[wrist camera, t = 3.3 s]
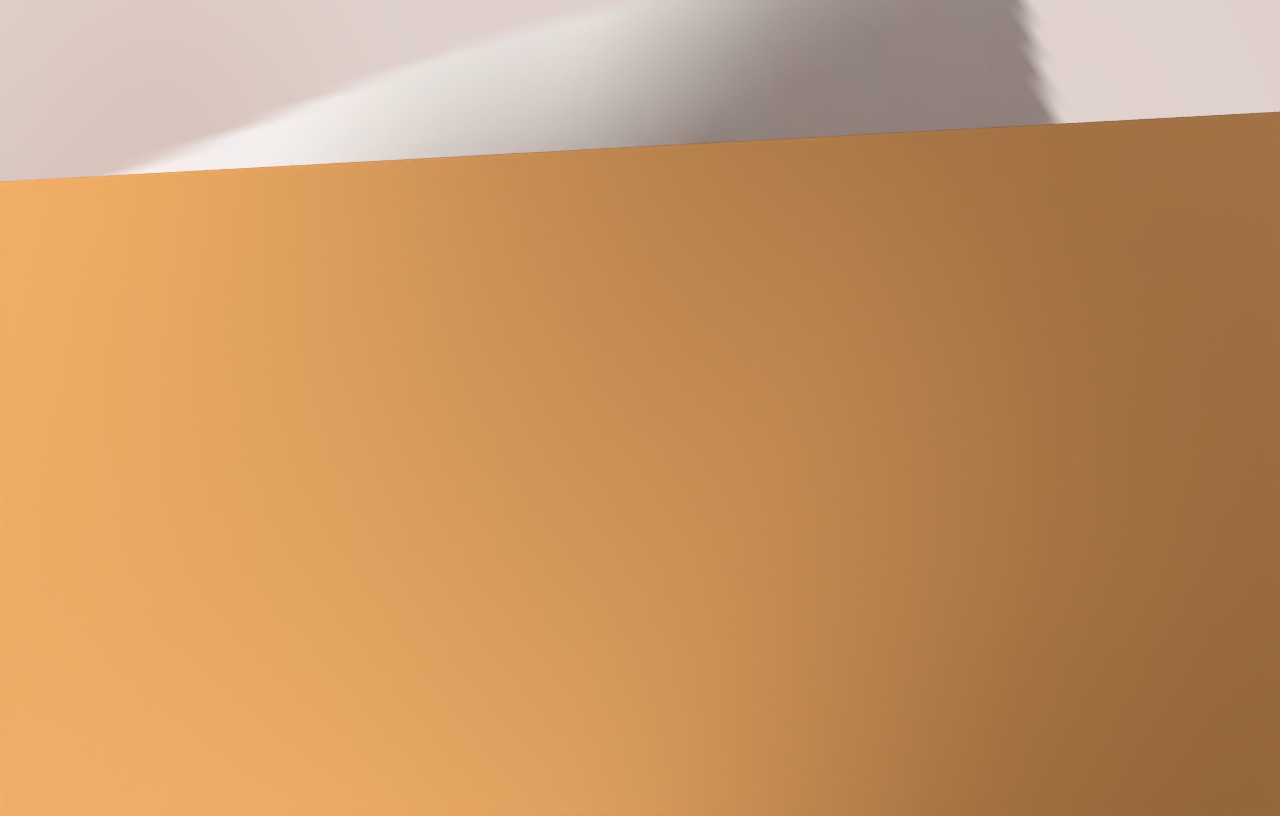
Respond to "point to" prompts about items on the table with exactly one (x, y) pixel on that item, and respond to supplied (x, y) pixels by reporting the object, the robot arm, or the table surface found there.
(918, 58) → the table surface
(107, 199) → the tall tan rectangular block
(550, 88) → the table surface
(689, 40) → the table surface
